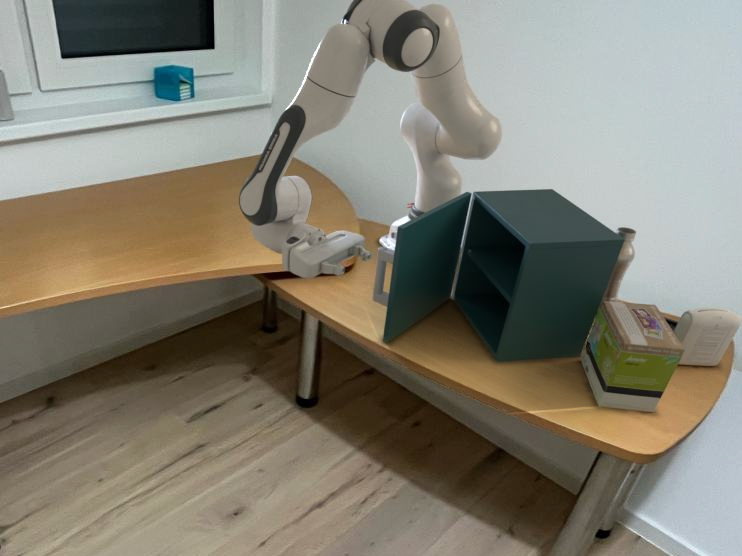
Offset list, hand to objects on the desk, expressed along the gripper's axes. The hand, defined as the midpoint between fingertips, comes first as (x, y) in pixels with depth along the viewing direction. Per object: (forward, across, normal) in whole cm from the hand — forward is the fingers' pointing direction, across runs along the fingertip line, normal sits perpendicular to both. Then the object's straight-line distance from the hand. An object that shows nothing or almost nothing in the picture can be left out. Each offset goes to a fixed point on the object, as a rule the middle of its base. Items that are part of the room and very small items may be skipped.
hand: (356, 264), depth 122 cm
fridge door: (+9, -10, -13) cm, 19 cm away
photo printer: (+61, -35, -14) cm, 71 cm away
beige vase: (+40, -42, -14) cm, 60 cm away
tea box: (+52, -16, -14) cm, 56 cm away
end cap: (+52, -35, -14) cm, 64 cm away
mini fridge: (+28, -22, -13) cm, 38 cm away
